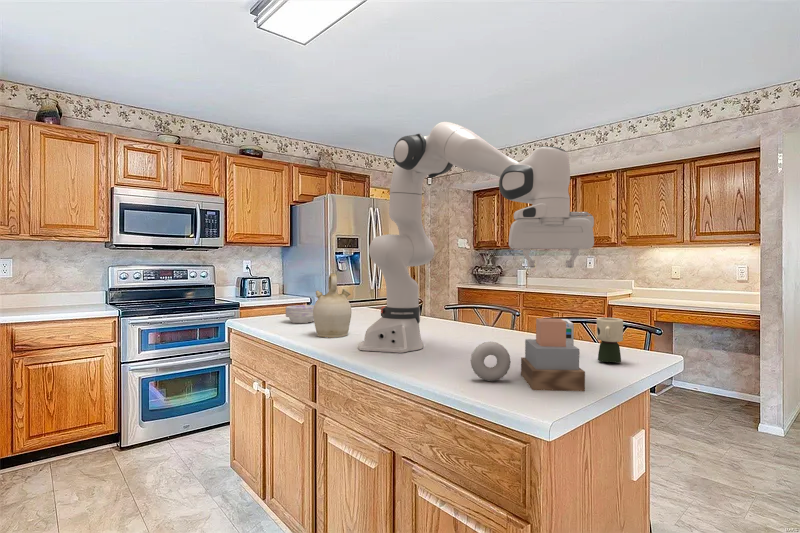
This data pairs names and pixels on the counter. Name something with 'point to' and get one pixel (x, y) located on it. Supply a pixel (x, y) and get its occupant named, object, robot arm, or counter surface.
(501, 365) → the donut
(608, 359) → the character mug
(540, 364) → the grey top block
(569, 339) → the light bulb box
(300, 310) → the paper bowls
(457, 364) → the counter surface
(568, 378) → the walnut base block
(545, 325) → the terracotta cube
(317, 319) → the jug
